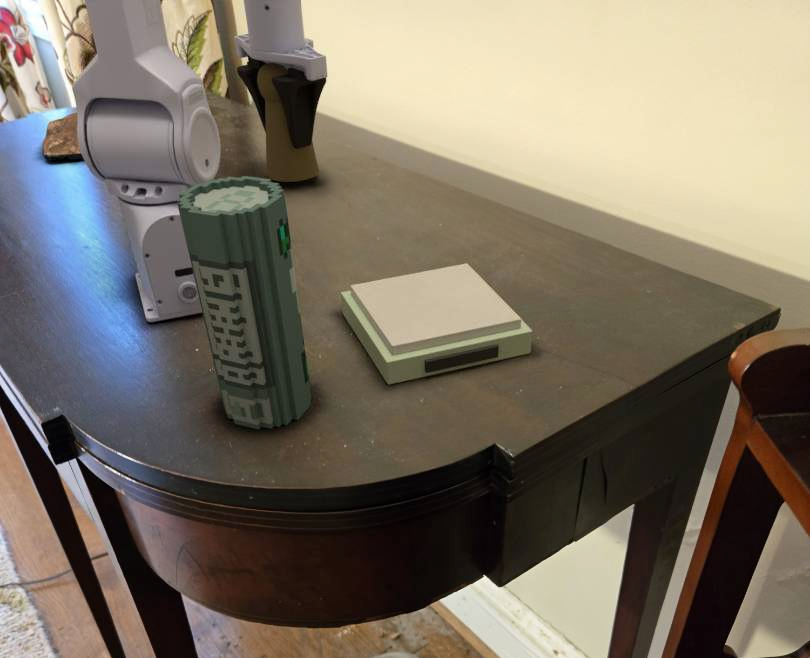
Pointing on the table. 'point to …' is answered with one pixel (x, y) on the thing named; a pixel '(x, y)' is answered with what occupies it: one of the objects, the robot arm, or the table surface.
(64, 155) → the brown stone slab
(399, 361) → the scale
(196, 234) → the can
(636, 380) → the table surface
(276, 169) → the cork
